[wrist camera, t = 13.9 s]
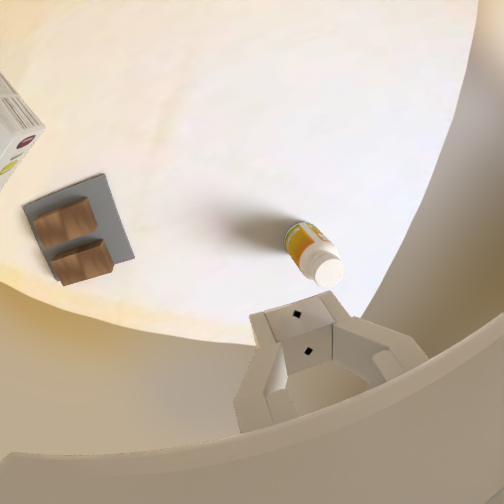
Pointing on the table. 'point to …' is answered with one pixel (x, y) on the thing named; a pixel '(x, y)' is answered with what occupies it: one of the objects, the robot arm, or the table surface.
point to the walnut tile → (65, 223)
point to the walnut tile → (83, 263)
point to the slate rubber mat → (102, 211)
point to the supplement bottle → (314, 254)
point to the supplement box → (15, 129)
